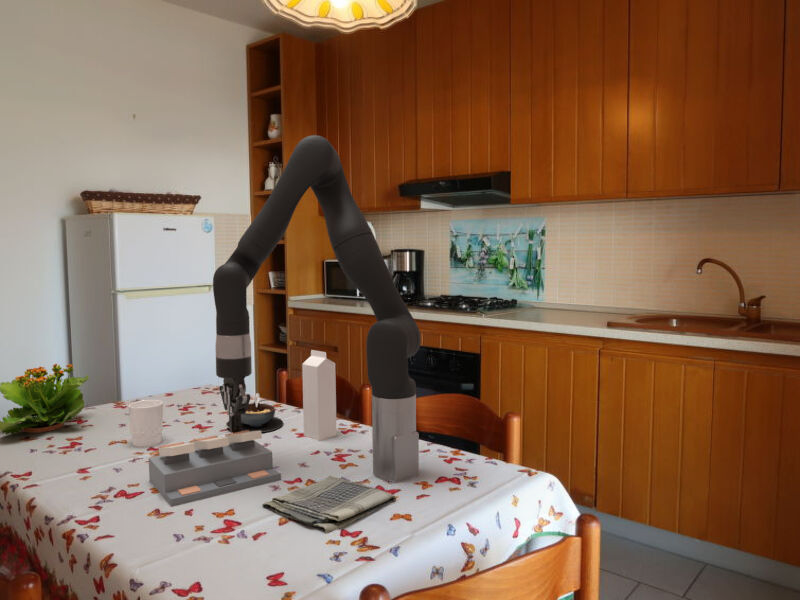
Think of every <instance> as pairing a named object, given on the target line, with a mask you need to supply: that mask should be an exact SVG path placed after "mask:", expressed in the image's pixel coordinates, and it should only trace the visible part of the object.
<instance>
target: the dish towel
mask: <svg viewBox="0 0 800 600" xmlns="http://www.w3.org/2000/svg"><path fill="white" fill-rule="evenodd" d="M396 500H397V496H395V495H394V494H392V493H390V492H388V491H385V490H382V489H379V488H375V487H372V486H368V485H365V484H362V483H358V482H356V481H355V482H354V481H351V480H346V479H343V478H339V477H336V476H331V475H329V476H327V477H326V478H324V479H322V480H320V481H318V482H315V483H312V484H310V485H308V486H304V487H301V488H299V489H296V490H293V491H291V492H289V493H287V494H284V495H280V496H276V497H275V496H274V497H272V499H271V500H269V501H266V502H264V503H262V508H264V509H265V508H269V507H271V508H272V509H271V511H273V512H274V513H275V514H277V515H280V516H284V517H286V518H288V519H292V520H295V521H297V522H299V523H302V524H304V525H308V526H311V527H314V528H319V529H324V533H325V535H327V534H329V533H331V532H334V531H336V530H338V529H340V528H343V527H344V526H346V525H347V524H350V523H353V522H354V521H355V520H358V519H360V518H362V517H364V516H366V515H368V514H371V513H372V512H374V511H376V510H378V509H380V508H382V507H384V506H386V505H389V504H390V503H392V502H396Z"/></svg>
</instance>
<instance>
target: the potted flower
mask: <svg viewBox="0 0 800 600" xmlns="http://www.w3.org/2000/svg"><path fill="white" fill-rule="evenodd" d="M51 371H52V372H53V373H48V370H47V369H46V368H45V367H44V366H39V367H34V368H27V369H26V370H24V371H23V372H24V375H19V376H15V377H14V379H13V380H11V382H9V381H6V382H4V381H2V382H0V393H1V394H2V397H3V398H4V399H6V400H7V401H11V402H13V403H15V404H16V405H18V406H20V407H12V408H10V410H7V415H6V416H3V417H2V421H1V420H0V433H2V434H4V433H5V435H9V434H10V435H15V434H19V432H20V431H23V432H25V433H28V434H29V433H35V434H36V433H44V432H49V431H55V430H58V429H60V428H62V427H63V426H64V424H65V422H68V421H71V420H73V418H74V417H76V416H77V415H79V414H80V413H81V412H83V409H84V408H85V404H86V402H85V400H84V399H83V398H84V394H83V393H82V391H81V389H80V388H79V387H80V386H82V385H84V383H86V382H87V381H88V380H89V379H90V377H89V375H88V374H85V375H84V376H83V377H80V376H78V377H75V376H71V377H70V375H71V372H73V371H74V365H73V364H69V363H68V364H66V365H65V368H62V366H61V365H60V364H57V363H55V364H53V365H52V368H51ZM65 372H66V373H67V374H68V377H67V378H63V377H65Z"/></svg>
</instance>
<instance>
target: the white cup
mask: <svg viewBox="0 0 800 600" xmlns="http://www.w3.org/2000/svg"><path fill="white" fill-rule="evenodd" d="M128 414H129V415H128V416H129V425H130V433H131V440H132V441H131V442H132V445H133V446H134V447H137V448H138V447H139V448H144V447H145V448H146V447H152V446H153V447H154V446H156V445H159V444H161V443H162V442H163V427H164V426H163V424H164V423H163V422H164V401H162V400H159V399H146V400H145V399H144V400H138V401H135V402H131V403H130V404H128Z"/></svg>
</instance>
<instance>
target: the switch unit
mask: <svg viewBox="0 0 800 600" xmlns="http://www.w3.org/2000/svg"><path fill="white" fill-rule="evenodd" d="M229 444H230V445H228V446H223V447H218V448H213V449H195V452H190V453H185V454H180V455H175V456H159V455H156V456H151V457H148V474H149V475H148V477H149V482H150V483H151V484H152V485H153V487H154V488H155V490H157V492H158V493H159V494H160V495H161V496H162V497H163V498H164V500H165V501H166V502H167V503H168V504H169V505H170V507H175V506H179V505H182V504H187V503H191V502H195V501H199V500H204V499H208V498H212V497H215V496H220V495H224V494H228V493H231V492H236V491H240V490H244V489H245V490H246V489H249V488H253V487H256V486H260V485H265V484H269V483H273V482H278V481H281V479H282V476H281V475H282V473H280V472H279V471H278V470H276V469H275V468H273V466H274V465H273V451H272V450H270V449H268V448H267V447H265V446H263V445H262V444H261V443H259V442H257V441H256V440H250V441H245V442H236V443H229Z"/></svg>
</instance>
